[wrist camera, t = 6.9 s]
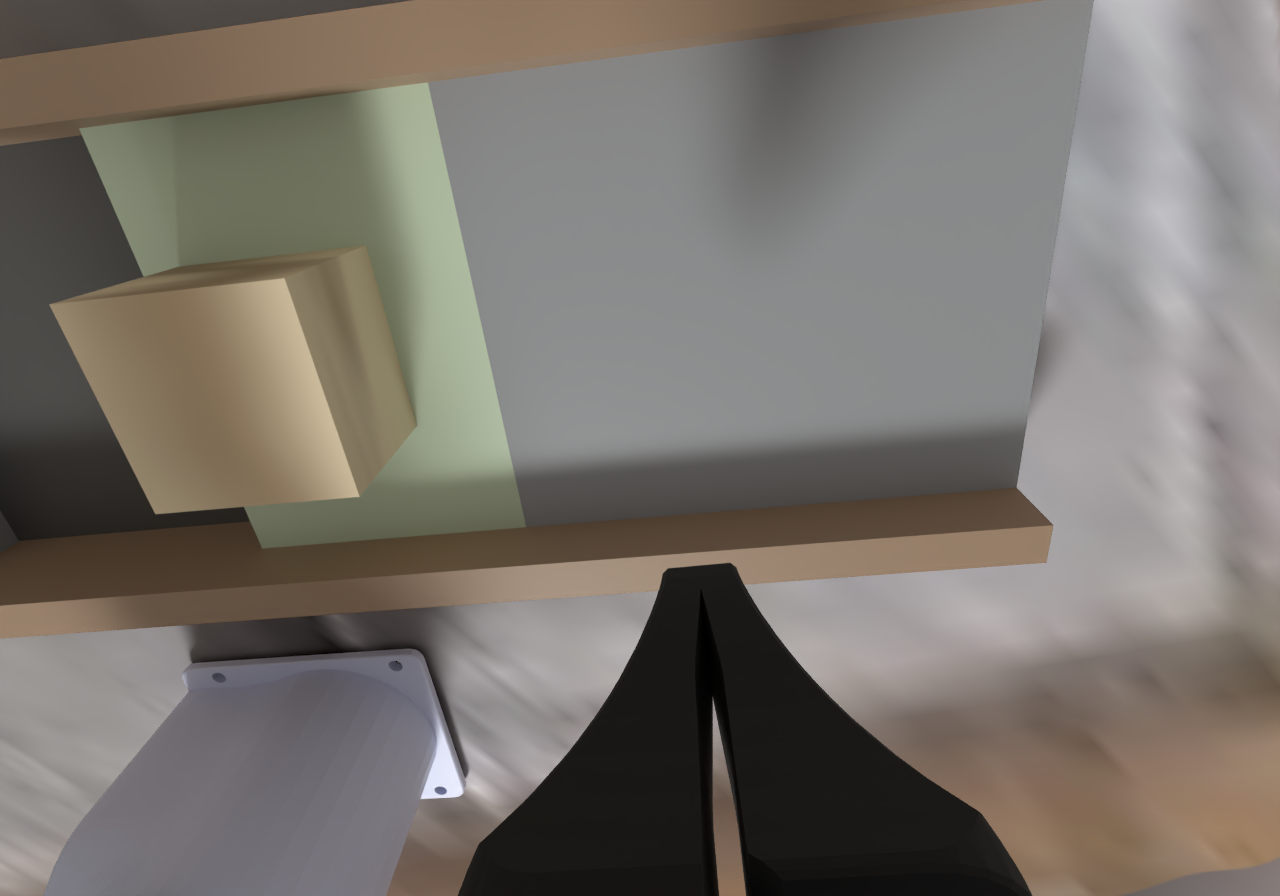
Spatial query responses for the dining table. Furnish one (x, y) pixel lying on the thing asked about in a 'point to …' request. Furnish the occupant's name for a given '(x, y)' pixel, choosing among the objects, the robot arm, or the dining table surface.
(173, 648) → the dining table surface
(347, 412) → the wood block
